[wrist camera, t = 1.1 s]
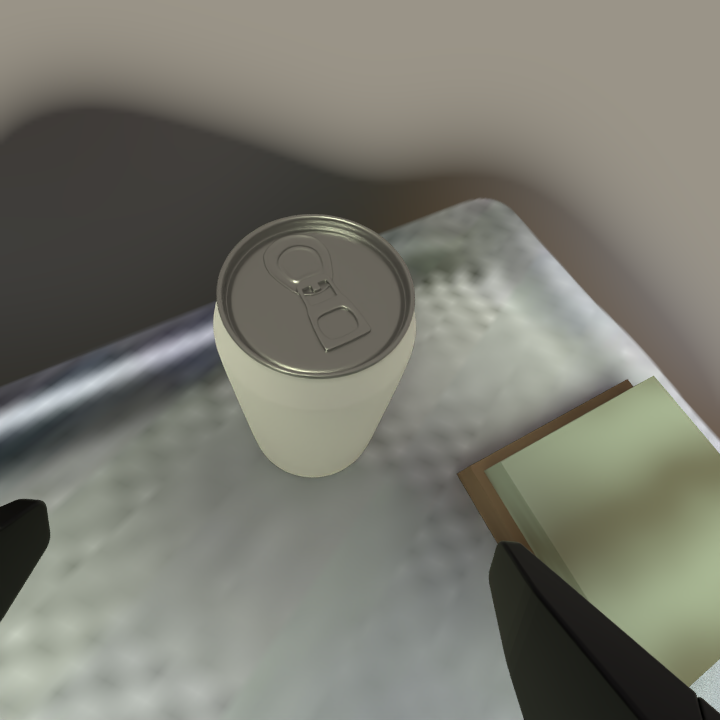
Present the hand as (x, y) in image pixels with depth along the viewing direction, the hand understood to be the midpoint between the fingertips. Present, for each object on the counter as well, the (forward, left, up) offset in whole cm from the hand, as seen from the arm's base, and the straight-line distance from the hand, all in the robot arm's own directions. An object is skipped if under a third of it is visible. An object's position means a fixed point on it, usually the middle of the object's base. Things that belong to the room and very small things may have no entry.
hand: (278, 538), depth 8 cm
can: (+6, -3, -13) cm, 14 cm away
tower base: (-6, -14, -13) cm, 20 cm away
